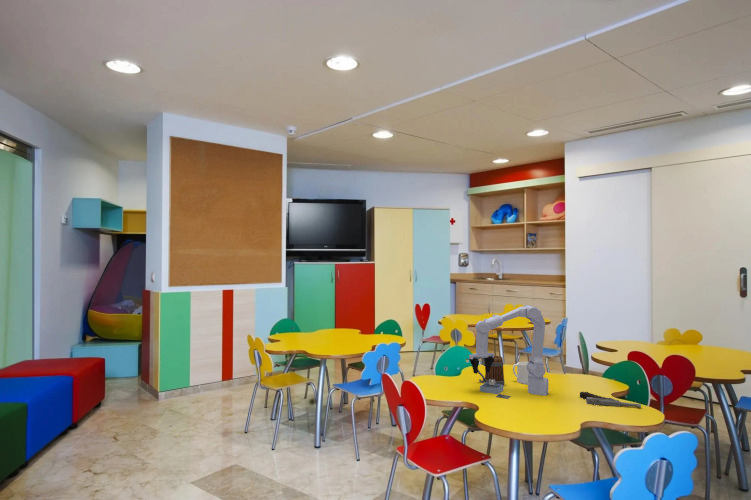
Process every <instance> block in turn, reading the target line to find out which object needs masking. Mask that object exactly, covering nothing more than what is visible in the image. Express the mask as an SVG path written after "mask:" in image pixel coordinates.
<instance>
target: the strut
mask: <svg viewBox="0 0 751 500" xmlns="http://www.w3.org/2000/svg"><path fill="white" fill-rule="evenodd" d="M489 387H490V388H495V379H489Z"/></svg>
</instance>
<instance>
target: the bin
mask: <svg viewBox="0 0 751 500" xmlns="http://www.w3.org/2000/svg"><path fill="white" fill-rule="evenodd" d="M504 386H505V384H504V385H499V384H495V388H490V387H489V383H487V382H486V383H485V382H484V383H481V385H480V386H479V392H480V393H481V392H482V393H487V394H494V395H499V394H501V393H502V392H503V391H504V390H505V389H504V388H505V387H504Z"/></svg>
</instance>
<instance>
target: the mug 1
mask: <svg viewBox="0 0 751 500" xmlns="http://www.w3.org/2000/svg"><path fill="white" fill-rule="evenodd" d="M492 358H494V361H493V363H492V365H491V368H490V371H489V372H485V373H484V374H485V375H483V374H482V372H481V371H480V370H479V369H478V373H477V374H479V375H480V376H481V378H482V379H478V381H479V382H480V383H481V384H484V383H486V382H487V383H489V379H495V384H499V385H504V386H505V375H504V373H505V372H504V358H503V357H502V356H501V355H495V354H494V357H492ZM480 359H481V360H483V363H482V365H483V367H485V361H484V358H477V360H479V361H480Z"/></svg>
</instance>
